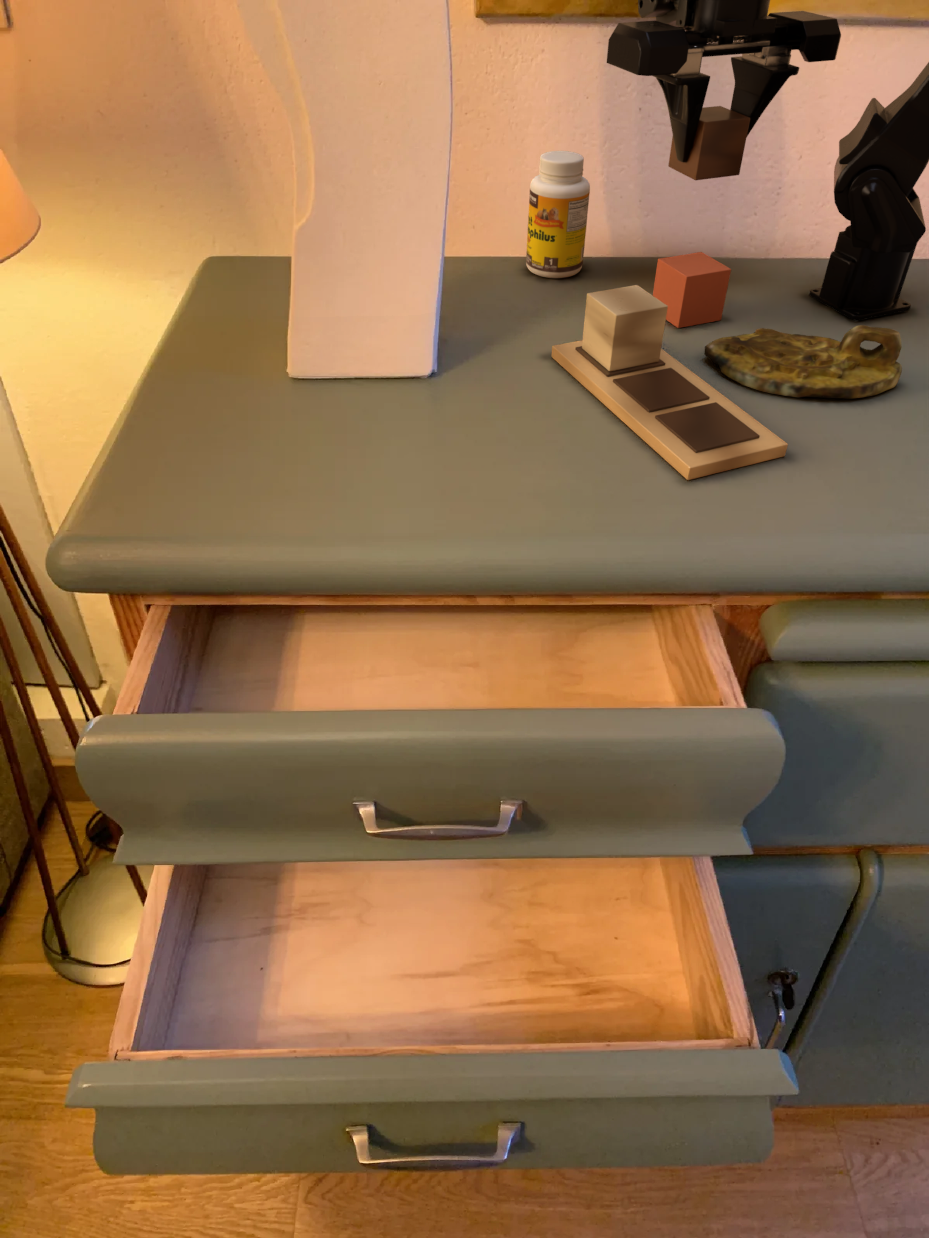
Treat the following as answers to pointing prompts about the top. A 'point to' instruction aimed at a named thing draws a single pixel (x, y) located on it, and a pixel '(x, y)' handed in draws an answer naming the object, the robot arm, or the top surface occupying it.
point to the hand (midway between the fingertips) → (705, 158)
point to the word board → (660, 388)
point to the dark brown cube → (715, 145)
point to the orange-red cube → (691, 288)
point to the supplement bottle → (557, 216)
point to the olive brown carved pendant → (811, 362)
